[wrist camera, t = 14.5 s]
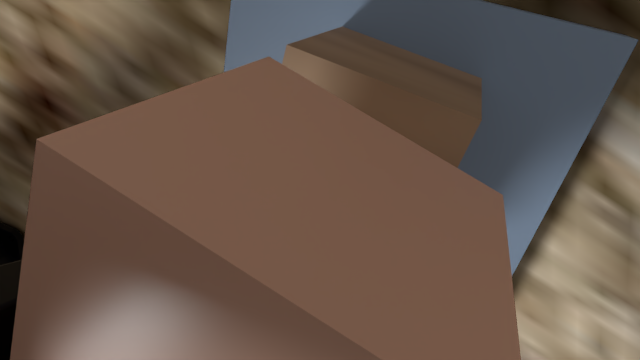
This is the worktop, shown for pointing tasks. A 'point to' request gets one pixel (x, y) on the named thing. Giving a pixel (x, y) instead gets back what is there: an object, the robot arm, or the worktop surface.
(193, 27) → the worktop surface
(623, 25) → the worktop surface
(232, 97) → the terracotta block
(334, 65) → the walnut block
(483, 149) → the base plate
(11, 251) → the robot arm
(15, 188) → the worktop surface
